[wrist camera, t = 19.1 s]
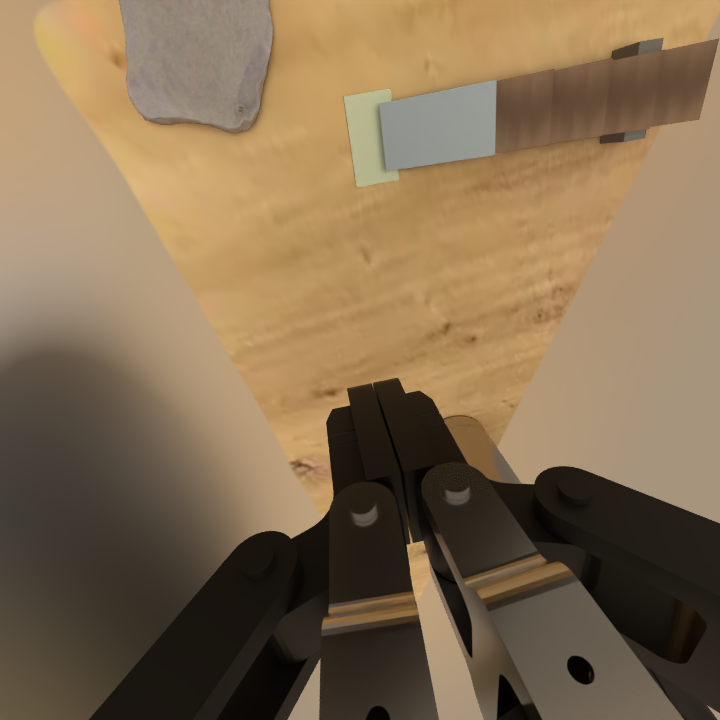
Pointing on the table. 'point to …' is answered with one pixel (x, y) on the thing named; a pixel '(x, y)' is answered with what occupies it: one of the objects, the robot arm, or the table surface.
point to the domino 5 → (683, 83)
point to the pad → (368, 137)
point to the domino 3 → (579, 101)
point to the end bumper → (624, 53)
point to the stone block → (197, 60)
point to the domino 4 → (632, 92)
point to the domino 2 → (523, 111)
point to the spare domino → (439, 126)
